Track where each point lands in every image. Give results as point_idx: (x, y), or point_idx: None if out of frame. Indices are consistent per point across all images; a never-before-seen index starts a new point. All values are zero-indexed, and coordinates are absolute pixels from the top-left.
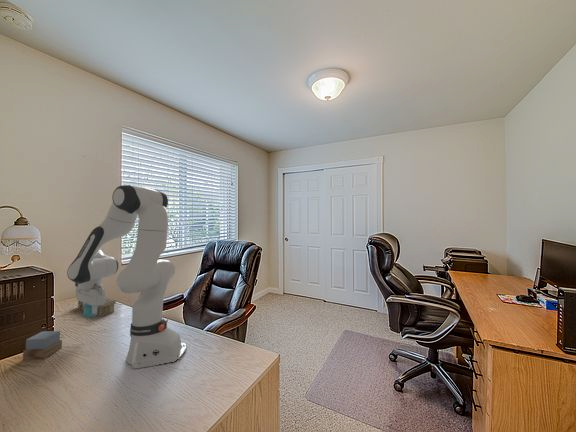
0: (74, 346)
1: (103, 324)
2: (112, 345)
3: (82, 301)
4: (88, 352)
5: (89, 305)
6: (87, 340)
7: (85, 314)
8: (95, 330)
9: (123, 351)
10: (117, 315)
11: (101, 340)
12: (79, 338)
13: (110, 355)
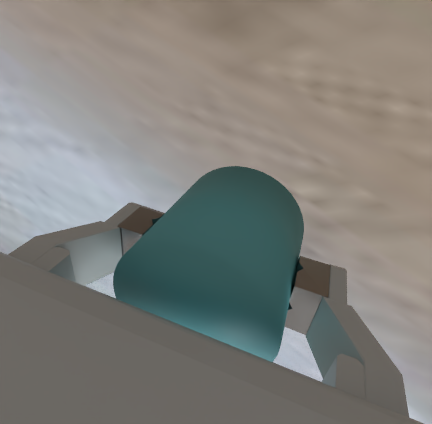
0: (257, 19)
1: (390, 303)
2: (89, 118)
3: (346, 403)
4: (104, 12)
5: (188, 304)
6: (262, 114)
7: (213, 184)
8: (357, 231)
9: (7, 94)
10: (421, 402)
11: (186, 140)
12: (350, 117)
13: (6, 45)
